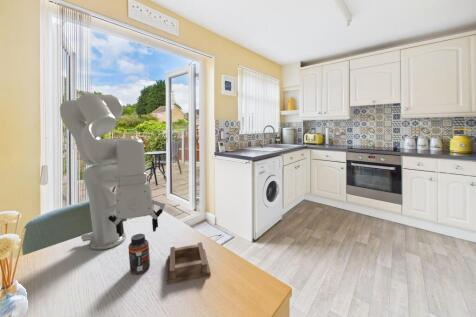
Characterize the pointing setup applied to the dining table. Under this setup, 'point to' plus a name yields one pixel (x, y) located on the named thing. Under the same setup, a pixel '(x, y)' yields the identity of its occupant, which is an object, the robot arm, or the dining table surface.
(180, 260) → the can holder
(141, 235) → the supplement bottle
